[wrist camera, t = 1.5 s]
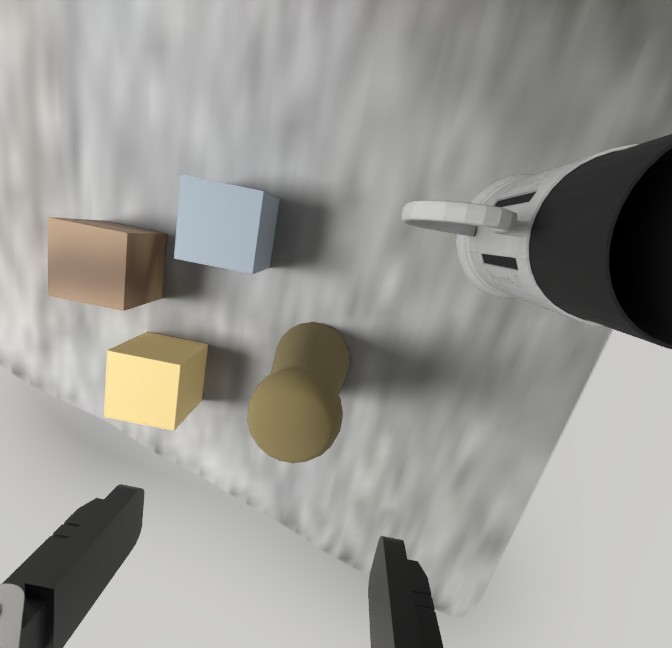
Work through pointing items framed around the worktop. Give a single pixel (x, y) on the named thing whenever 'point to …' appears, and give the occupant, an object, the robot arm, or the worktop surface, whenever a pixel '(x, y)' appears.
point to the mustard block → (154, 380)
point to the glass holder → (574, 238)
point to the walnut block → (105, 263)
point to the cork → (301, 395)
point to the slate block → (225, 225)
